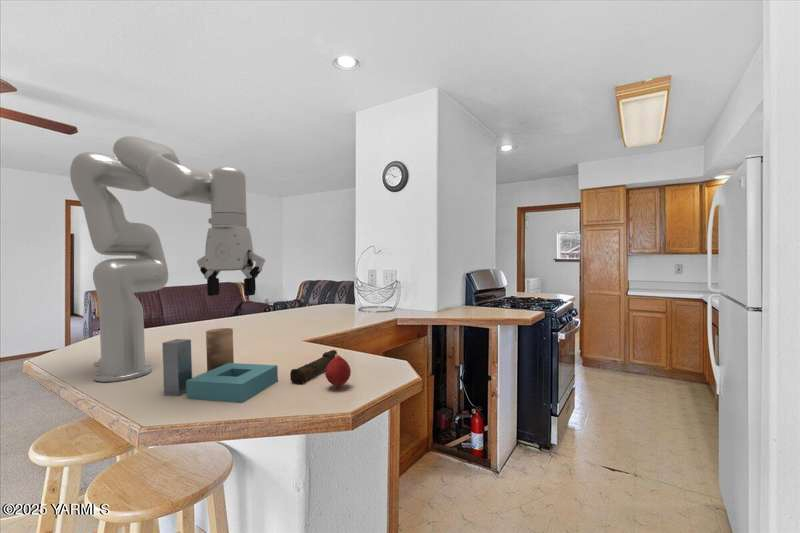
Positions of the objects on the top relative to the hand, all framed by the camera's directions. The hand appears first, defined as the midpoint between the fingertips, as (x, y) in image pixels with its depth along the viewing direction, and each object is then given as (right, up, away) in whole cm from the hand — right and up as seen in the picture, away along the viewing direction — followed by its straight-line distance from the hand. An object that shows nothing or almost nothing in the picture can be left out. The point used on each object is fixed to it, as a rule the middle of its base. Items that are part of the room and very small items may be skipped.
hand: (231, 295), depth 87 cm
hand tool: (+17, -22, +12) cm, 31 cm away
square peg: (-12, -23, -1) cm, 26 cm away
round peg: (-8, -22, +12) cm, 26 cm away
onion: (+25, -22, 0) cm, 33 cm away
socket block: (+1, -22, 0) cm, 22 cm away
